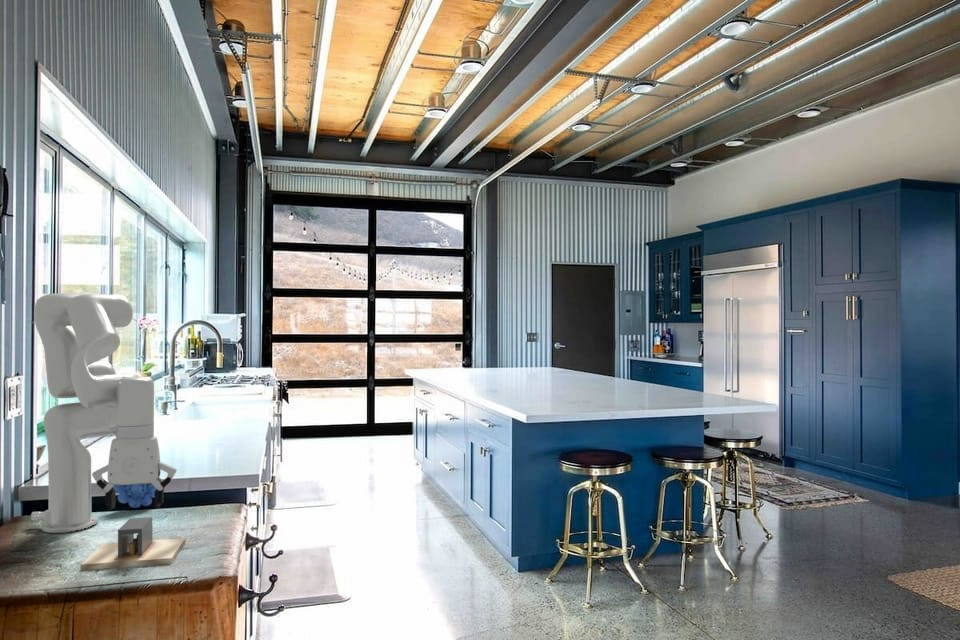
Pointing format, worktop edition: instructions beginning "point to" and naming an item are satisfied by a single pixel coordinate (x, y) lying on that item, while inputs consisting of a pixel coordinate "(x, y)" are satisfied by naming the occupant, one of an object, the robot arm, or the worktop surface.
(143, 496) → the blue flower
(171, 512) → the worktop surface
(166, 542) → the pin board
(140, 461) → the robot arm
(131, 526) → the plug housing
